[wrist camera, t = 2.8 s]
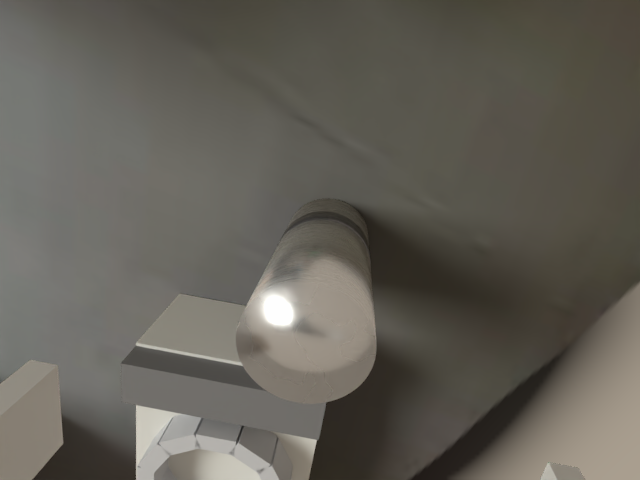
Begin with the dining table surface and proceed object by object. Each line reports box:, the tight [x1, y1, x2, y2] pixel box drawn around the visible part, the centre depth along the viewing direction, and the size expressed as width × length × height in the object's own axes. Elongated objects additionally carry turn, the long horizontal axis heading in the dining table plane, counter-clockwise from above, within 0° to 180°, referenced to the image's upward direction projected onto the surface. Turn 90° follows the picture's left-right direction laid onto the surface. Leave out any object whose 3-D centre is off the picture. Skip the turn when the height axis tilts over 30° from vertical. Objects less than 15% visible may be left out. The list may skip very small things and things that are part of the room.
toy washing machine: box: [121, 294, 327, 480], centre depth 27 cm, size 16×11×8 cm
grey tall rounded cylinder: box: [236, 198, 377, 404], centre depth 21 cm, size 5×5×12 cm
